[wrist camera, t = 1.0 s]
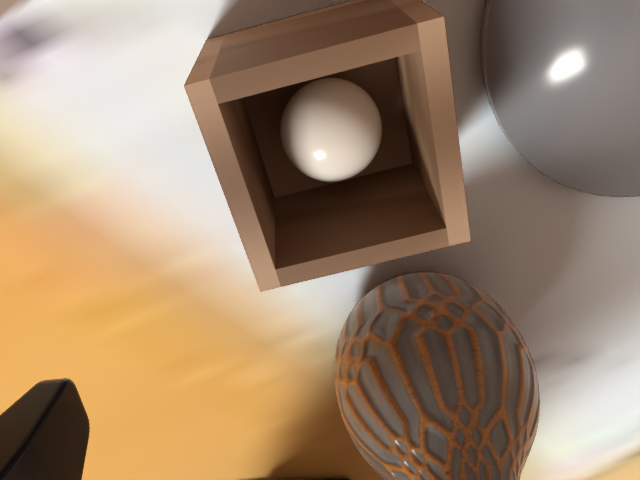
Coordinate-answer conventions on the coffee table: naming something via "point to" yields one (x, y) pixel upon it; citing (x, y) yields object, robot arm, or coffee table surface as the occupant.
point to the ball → (331, 129)
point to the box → (360, 190)
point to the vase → (436, 382)
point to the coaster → (568, 88)
